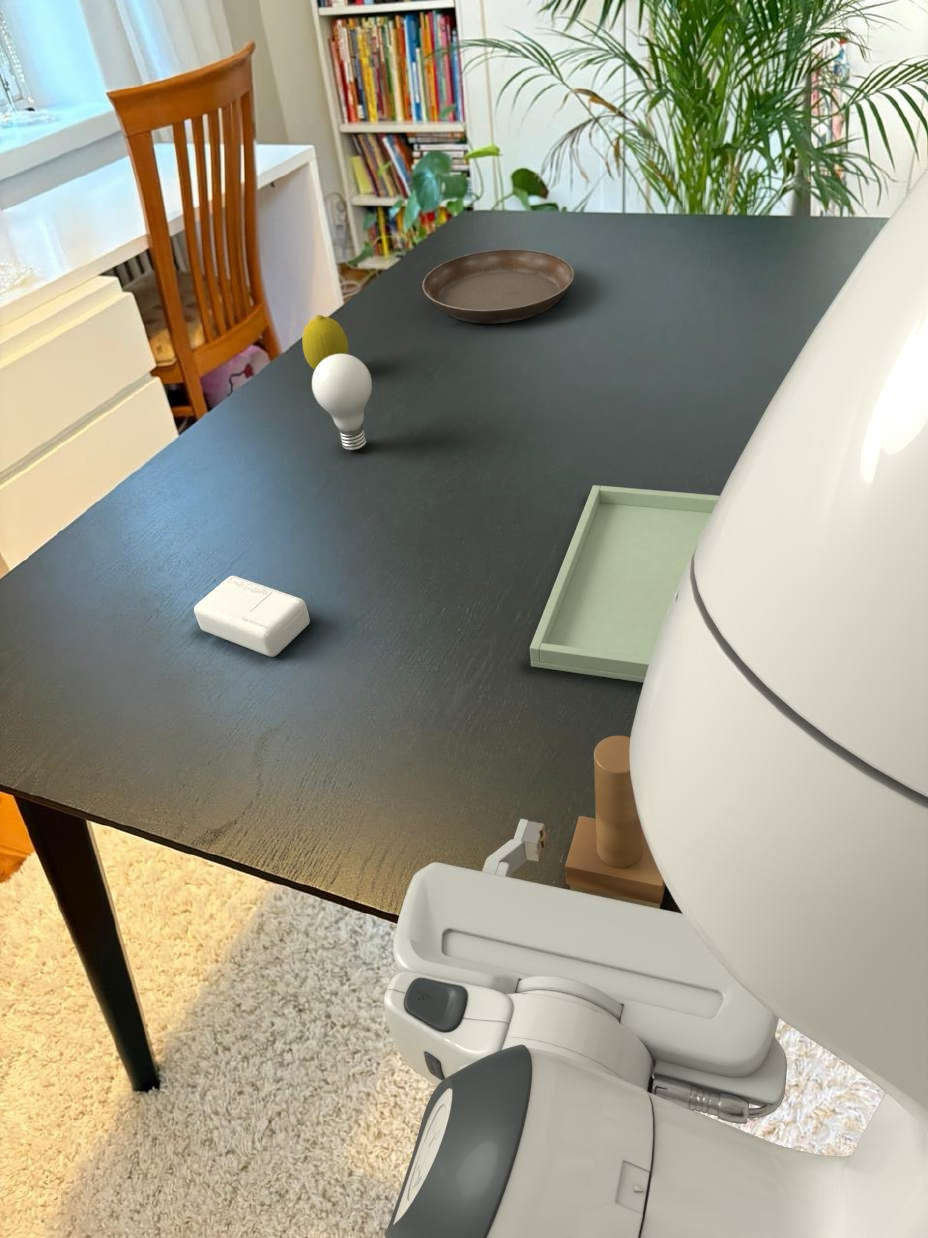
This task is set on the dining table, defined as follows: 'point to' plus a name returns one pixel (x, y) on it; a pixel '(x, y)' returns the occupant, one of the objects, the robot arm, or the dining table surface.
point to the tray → (619, 581)
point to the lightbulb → (344, 395)
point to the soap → (252, 615)
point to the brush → (614, 836)
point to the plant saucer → (498, 285)
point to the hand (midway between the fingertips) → (613, 841)
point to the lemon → (323, 340)
